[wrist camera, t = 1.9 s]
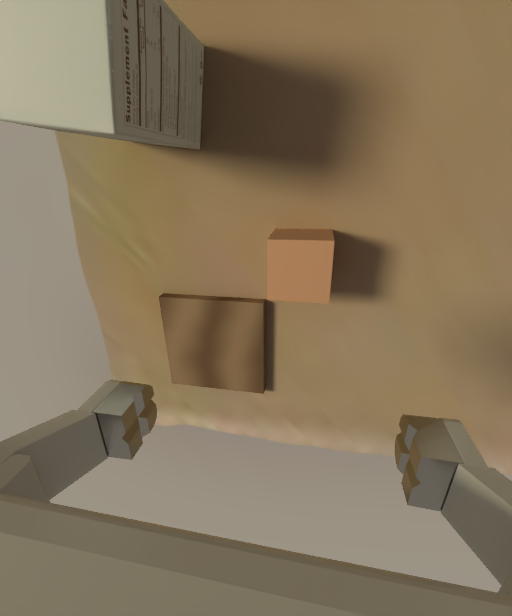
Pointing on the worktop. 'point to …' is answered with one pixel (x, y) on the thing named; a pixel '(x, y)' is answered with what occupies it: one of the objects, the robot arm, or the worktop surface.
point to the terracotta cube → (300, 265)
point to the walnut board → (215, 341)
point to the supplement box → (101, 70)
